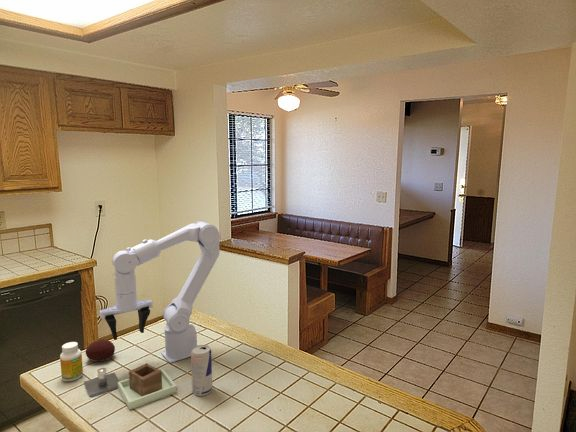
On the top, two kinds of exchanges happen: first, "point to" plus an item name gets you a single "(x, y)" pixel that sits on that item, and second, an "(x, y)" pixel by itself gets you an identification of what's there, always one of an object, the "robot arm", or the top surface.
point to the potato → (100, 350)
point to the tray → (138, 400)
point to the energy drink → (201, 370)
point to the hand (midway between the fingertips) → (128, 335)
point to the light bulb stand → (101, 383)
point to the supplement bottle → (71, 362)
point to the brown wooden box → (145, 379)
